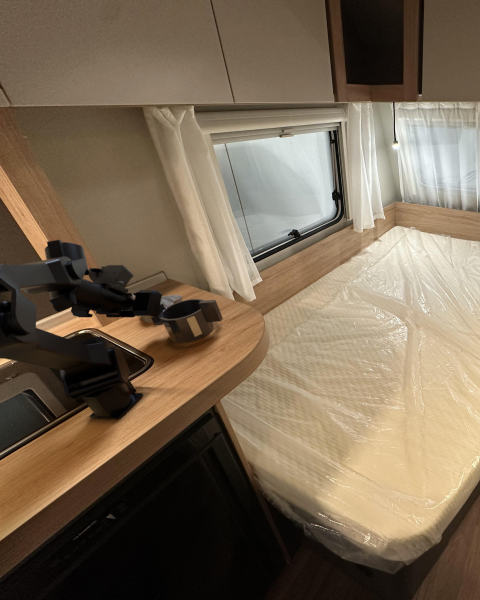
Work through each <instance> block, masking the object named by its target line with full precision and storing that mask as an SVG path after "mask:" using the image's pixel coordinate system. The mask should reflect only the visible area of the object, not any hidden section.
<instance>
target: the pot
mask: <svg viewBox="0 0 480 600" xmlns="http://www.w3.org/2000/svg"><path fill="white" fill-rule="evenodd" d="M219 307H220V306H218V303H217V300H216V299H206V300H204V299H203V298H189V299H184V300H181V301H180V302H177V303H175V304H172V305H170V306H168V307H166V308H165V307H164V305H163V303H160V307H159V312H158V315H157V316H156V317H151V319H152V321H153V325H154V326H163V327H164V329H165V331H166V333H167V335H168V336H169V338H170V340H171V341H172V342H174V343H176V344H186V343H191V342H195V341H198V340H200V339H203V338H204V337H206V336H208V335H209V334H210V333H211V332H212V331H213V330H214V329H215V326H216V324H215V323H218V322H220V323H221V322H222V321H223V320H224V318H223V315H222V312H221V310H220V308H219Z"/></svg>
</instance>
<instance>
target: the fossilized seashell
mask: <svg viewBox="0 0 480 600" xmlns="http://www.w3.org/2000/svg"><path fill="white" fill-rule="evenodd" d="M183 298H184V297H183V296H182V295H180V294H169V295H162V298H161V302H160V303H163V305H164V307H165V308H166V307H168V306H170V305H172V304H175V303H177V302H180V301H183ZM140 319H141V320H142V322H145V323H147V324H152V323H153V321H152V319H151V317H140ZM153 324H154V323H153Z"/></svg>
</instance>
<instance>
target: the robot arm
mask: <svg viewBox="0 0 480 600" xmlns="http://www.w3.org/2000/svg"><path fill="white" fill-rule="evenodd" d="M46 244H47V245H46V246H45V247H44V254H45V259H43V260H37V261H32V262H26V263H21V264H7V263H0V295H1V294H2V295H3V294H7V293H10V294H11V295H10V301H9V300H3V301H0V360H2V359H4V360H8V361H15V362H18V363H19V362H20V363H24V364H29V365H34V366H39V367H44V368H49V369H54V370H59V371H58V372H59V375H60V378H61V382H62V386H63V391H64V395H65V398H67V399H68V400H70V401H71V402H75V401H77V400H79V399H82V400H83V401H84V403H85V404H86V405H87V406H88V407H89V409H90V410H91V411H92V413H91V414H90V415H89V418H90V419H93V420H94V419H95V420H119V419H121V418H122V417H124V416H125V414H127V412H128V411H129V410H130V409H131V408H132V407H133V406H135V404H137V402H138V401H140V400H141V399H142V398H143V397H144V393H143V392H137V389H136V387H135V386H134V385H133V383H132V381H131V380H130V379H129V375H130V371H131V370H130V368H129V366H128V362H127V361H126V359H125V356H124V354H123V352H122V350H121V348H119V347H118V346H115V345H114V344H113V343H110V342H109V339H104V338H103V337H101V336H92V337H89V338H85V339H81V340H78V341H76V340H73V339H70V338H66V337H64V336H61V335H58V334H55V333H53V332H49V331H47V330H43V329H41V328H38V327H37V305H36V304H35V303H34V302H33V301H31V299H29V298H28V297H27V296H25V295H24V294H23V293H25V294H28V295H42V294H47V293H49V298H50V299H49V303H50V304H51V305H52V308H53V309H54V310H55V312H57V313H61V312H63V311H65V310H68V309H70V308H71V309H70V313H71V314H72V315H73V317H78V318H93V316H94V315H93V313H90V311H93V312H95V314H96V315H105V317H106V318H109V319H110V318H117V319H118V318H122V319H123V318H135V317H139V318H141V317H156V316H157V315H158V312H159V307H160V302H161V298H162V296H163V294H162V292H161V291H158V290H156V289H140V290H138V291H137V292H129V288H126V287H127V285H128V283H130V281H131V279H133V278H134V274H133V273H132V272H131V271H130V270H129V269H128V268H127V267H126V266H124V264H109V265H104V266H101V267H90V268H89V267H88V261H87V258H86V254H85V249H84V247H83V246H82V245H81V244H77V243H74V242H65V241H64V242H63V240H61V239H55V240H49V241H46ZM85 276H88V278H89V280H88V279H85V278H84V277H85ZM21 291H23V293H22V292H21Z"/></svg>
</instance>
